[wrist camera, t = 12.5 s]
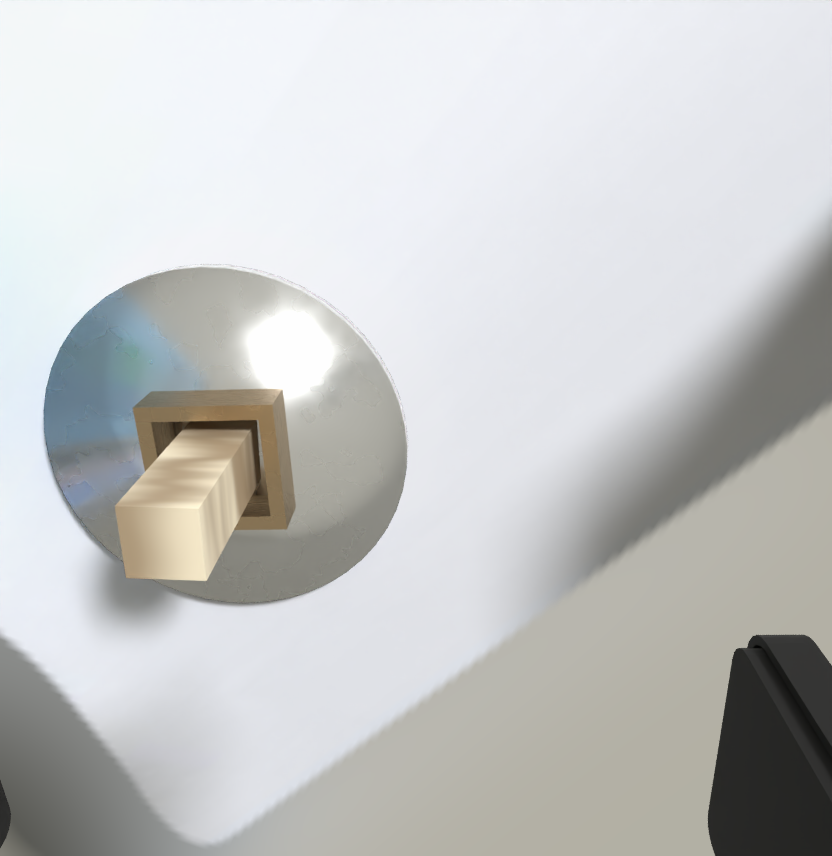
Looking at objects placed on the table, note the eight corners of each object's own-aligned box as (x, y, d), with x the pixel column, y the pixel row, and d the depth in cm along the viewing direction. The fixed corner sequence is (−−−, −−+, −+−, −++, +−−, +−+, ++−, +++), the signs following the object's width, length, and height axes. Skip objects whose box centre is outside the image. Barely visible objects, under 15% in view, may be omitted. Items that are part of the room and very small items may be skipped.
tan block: (256, 420, 39) (198, 508, 30) (261, 478, 40) (206, 580, 31) (192, 418, 39) (114, 506, 30) (198, 476, 40) (126, 578, 31)
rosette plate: (399, 258, 36) (395, 269, 33) (414, 591, 44) (412, 627, 41) (14, 269, 37) (-27, 282, 34) (93, 594, 45) (65, 630, 42)
